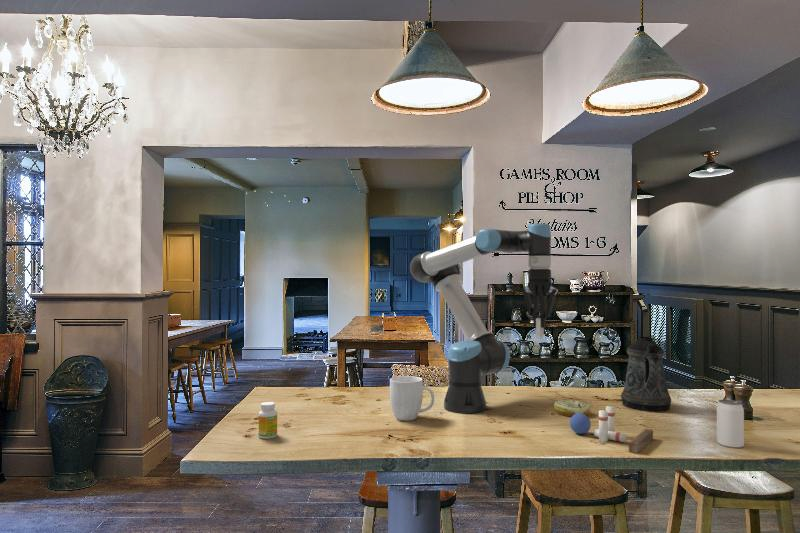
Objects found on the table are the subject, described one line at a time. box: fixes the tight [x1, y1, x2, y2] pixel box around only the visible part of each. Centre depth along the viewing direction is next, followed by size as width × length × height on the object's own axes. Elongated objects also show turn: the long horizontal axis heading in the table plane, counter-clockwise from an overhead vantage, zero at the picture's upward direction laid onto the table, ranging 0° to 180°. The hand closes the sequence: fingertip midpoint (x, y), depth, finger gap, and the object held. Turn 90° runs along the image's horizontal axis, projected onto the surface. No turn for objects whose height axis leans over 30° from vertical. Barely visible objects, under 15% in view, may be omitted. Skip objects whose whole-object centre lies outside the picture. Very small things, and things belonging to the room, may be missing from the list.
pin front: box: [593, 428, 628, 443], centre depth 151 cm, size 2×2×8 cm
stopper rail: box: [628, 428, 654, 455], centre depth 146 cm, size 2×16×2 cm, turn 140°
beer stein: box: [620, 336, 672, 413], centre depth 188 cm, size 16×19×25 cm
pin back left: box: [605, 405, 616, 432], centre depth 154 cm, size 2×2×8 cm
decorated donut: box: [553, 399, 591, 418], centre depth 179 cm, size 11×12×4 cm
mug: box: [389, 375, 435, 422], centre depth 173 cm, size 15×11×13 cm
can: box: [716, 399, 745, 449], centre depth 147 cm, size 6×6×12 cm
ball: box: [569, 413, 592, 435], centre depth 156 cm, size 6×6×6 cm
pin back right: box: [598, 409, 609, 443], centre depth 150 cm, size 2×2×8 cm
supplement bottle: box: [258, 401, 278, 440], centre depth 154 cm, size 5×5×10 cm
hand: (539, 336), depth 178 cm, fingers closed
